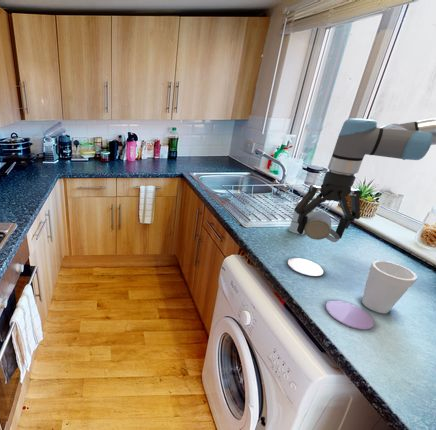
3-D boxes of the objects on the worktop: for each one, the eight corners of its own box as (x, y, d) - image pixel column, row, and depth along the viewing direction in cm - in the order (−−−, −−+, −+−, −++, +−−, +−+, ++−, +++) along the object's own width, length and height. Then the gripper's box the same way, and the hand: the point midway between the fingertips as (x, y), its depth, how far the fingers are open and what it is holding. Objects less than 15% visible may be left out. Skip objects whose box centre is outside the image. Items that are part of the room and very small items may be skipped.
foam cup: (352, 304, 86) (370, 269, 80) (357, 290, 91) (374, 256, 86) (394, 322, 79) (416, 285, 74) (397, 306, 85) (417, 270, 80)
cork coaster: (314, 260, 107) (315, 259, 107) (329, 278, 97) (329, 277, 97) (283, 257, 109) (283, 256, 108) (293, 274, 99) (294, 273, 99)
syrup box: (302, 235, 124) (312, 205, 118) (287, 230, 128) (297, 200, 122) (306, 231, 128) (317, 201, 122) (292, 227, 132) (301, 197, 126)
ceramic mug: (300, 237, 96) (308, 216, 93) (301, 228, 102) (308, 208, 99) (339, 247, 91) (348, 225, 88) (337, 236, 97) (345, 216, 94)
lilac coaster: (359, 304, 86) (359, 303, 86) (382, 333, 76) (383, 331, 76) (318, 299, 88) (319, 298, 87) (336, 326, 78) (337, 325, 78)
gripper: (377, 171, 89) (351, 233, 98) (295, 165, 93) (277, 225, 102) (393, 178, 82) (363, 244, 91) (304, 172, 86) (284, 235, 95)
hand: (318, 234), depth 97 cm, fingers closed on ceramic mug, 11 cm apart
